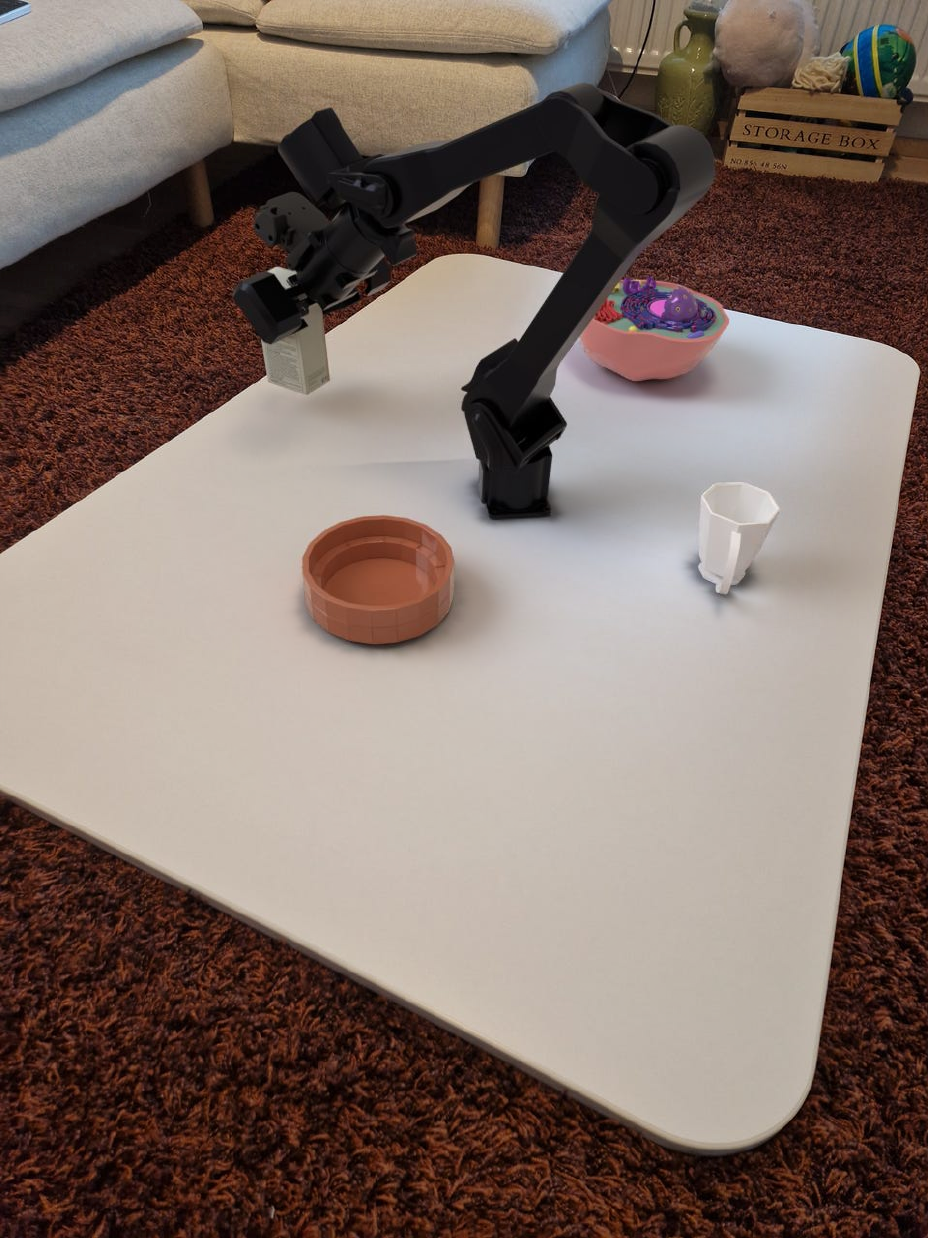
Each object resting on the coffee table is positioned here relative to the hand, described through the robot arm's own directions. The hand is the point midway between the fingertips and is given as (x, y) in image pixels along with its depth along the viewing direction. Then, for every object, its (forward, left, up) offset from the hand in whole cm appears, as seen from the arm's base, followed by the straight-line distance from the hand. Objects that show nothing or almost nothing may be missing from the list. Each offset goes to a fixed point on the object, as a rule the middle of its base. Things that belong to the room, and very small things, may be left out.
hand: (282, 324), depth 102 cm
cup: (-40, +37, -10) cm, 55 cm away
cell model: (-44, -5, -10) cm, 45 cm away
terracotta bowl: (-8, +36, -10) cm, 38 cm away
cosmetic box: (-1, +1, -7) cm, 7 cm away
